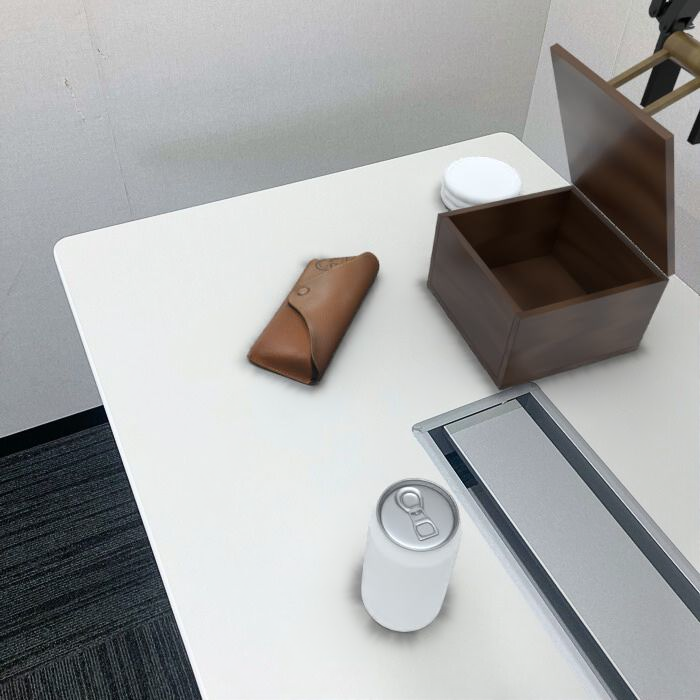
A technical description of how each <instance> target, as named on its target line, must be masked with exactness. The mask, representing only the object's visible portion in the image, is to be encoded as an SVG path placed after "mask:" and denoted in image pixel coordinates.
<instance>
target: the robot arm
mask: <svg viewBox="0 0 700 700" xmlns="http://www.w3.org/2000/svg"><path fill="white" fill-rule="evenodd" d="M649 4H650V5H649V7H648V16H649V17H650V18H652V19H654V18H655V19H656V21H657V22H658V30H659V35H658V38H657V41H656V44H655V45H654V46H655V47H654V50H653V53H652V55H653V54H655V53H657V52H658V51H660V50H662V49H663V46H664V43H665V42H666V40H667V39H668V37H669V36H670V35H672V34H673V33H675V32H677V31H684V32H685V31H691V30H694V29H695V28H696V26H695V25H694V23H693V22H694V21H695V19H696V18H697V16H698V14H699V13H700V0H668V1H667V0H651V1H650V3H649ZM686 33H687V34H688V35H690V36H691V37H693V38H694V36H693V35H692V34H690V33H689V32H686ZM681 70H682V68H681V67H679V66H678V65H676V64H675V63H674V62H672V61H671V60H669V59H666V60H664V61H663V62H661V63H659V64H658V65H656V66H654V67H653V68H651V71H650V73H649V77H648V80H647V82H646V86H645V89H644V91H643V94H642V97H641V99H640V103H639V105H640V106H641V107H642V108H645V107H646V106H648V105H650V104H652V103H653V102H655V101H657V100H658V99H660V98H662V97H664V96H665V95H667V94H669V93H670V92H672V91H674V90H675V86H676V84H677V80H678V78H679V77H680V73H681ZM686 142H688V143H689V145H691V146H695V145H700V109H699V110H698V112H697V115H696V117H695V120H694V122H693V124H692V127H691V129H690V132H689V134H688V137H687V139H686Z"/></svg>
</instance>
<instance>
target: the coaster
mask: <svg viewBox="0 0 700 700" xmlns="http://www.w3.org/2000/svg"><path fill="white" fill-rule="evenodd" d="M523 188H524V183H523V179H522V176H521V175H520V173H519V172H518V171H517V170H516V169H515V168H514V167H512V166H511V165H509V164H508V163H506V162H504V161H502V160H499V159H496V158H493V157H486V156H477V155H475V156H466V157H461V158H459V159H456V160H454V161H451V163H449V164H448V165H447V166H446V167H445V169H444V171H443V174H442V180H441V187H440V198H441V201H442V203H443V204H444V205H445V207H446V208H448V209H449V211H452V210H457V209H462V208H466V207H471V206H476V205H480V204H485V203H490V202H495V201H499V200H504V199H509V198H513V197H518V196H522V192H523Z"/></svg>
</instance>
